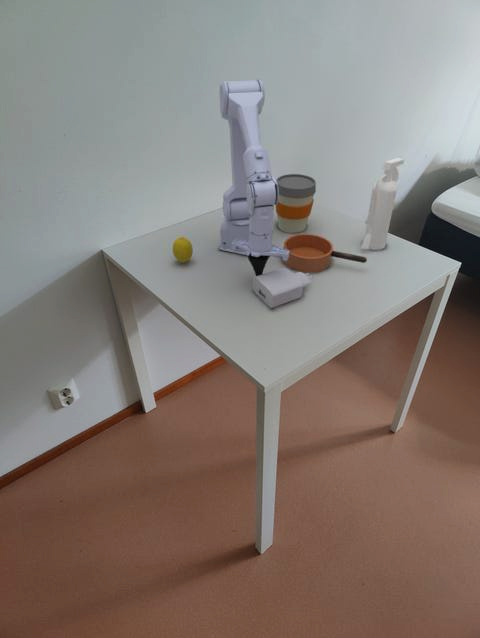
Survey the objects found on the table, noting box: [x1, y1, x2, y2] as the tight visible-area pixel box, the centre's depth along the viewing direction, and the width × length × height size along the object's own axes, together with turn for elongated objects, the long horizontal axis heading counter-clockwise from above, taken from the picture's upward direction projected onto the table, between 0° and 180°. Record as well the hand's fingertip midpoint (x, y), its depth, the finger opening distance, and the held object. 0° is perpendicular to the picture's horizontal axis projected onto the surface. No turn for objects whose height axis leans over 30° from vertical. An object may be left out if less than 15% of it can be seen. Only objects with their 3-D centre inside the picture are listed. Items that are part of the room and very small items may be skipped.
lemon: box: [172, 236, 194, 263], centre depth 113 cm, size 6×6×8 cm
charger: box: [252, 267, 314, 309], centre depth 103 cm, size 5×9×15 cm
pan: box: [282, 233, 334, 273], centre depth 115 cm, size 14×14×4 cm
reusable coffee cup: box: [275, 173, 317, 234], centre depth 128 cm, size 13×13×15 cm
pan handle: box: [328, 250, 368, 264], centre depth 111 cm, size 11×2×2 cm, turn 67°
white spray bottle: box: [360, 157, 405, 251], centre depth 115 cm, size 7×12×25 cm, turn 132°
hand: (259, 277), depth 106 cm, fingers closed
